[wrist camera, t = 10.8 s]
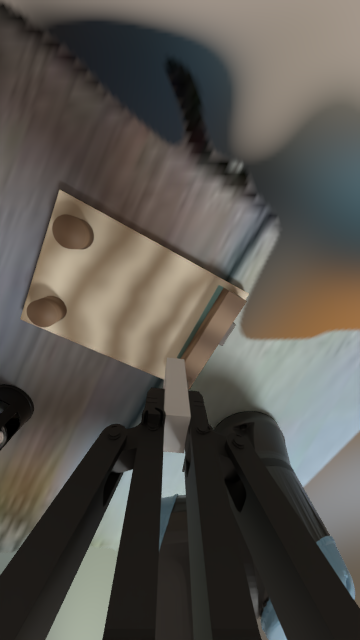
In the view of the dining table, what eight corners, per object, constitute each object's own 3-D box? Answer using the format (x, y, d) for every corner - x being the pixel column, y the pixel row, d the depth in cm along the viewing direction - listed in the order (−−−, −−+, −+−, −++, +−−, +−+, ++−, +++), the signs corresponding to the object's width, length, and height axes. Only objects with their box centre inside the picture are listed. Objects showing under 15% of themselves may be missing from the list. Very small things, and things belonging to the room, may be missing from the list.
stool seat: (244, 291, 34) (256, 297, 29) (187, 383, 39) (189, 401, 34) (67, 193, 28) (45, 181, 23) (28, 315, 33) (5, 325, 29)
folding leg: (185, 382, 36) (186, 398, 32) (169, 375, 35) (168, 390, 31) (240, 297, 31) (250, 303, 27) (223, 287, 31) (230, 291, 27)
